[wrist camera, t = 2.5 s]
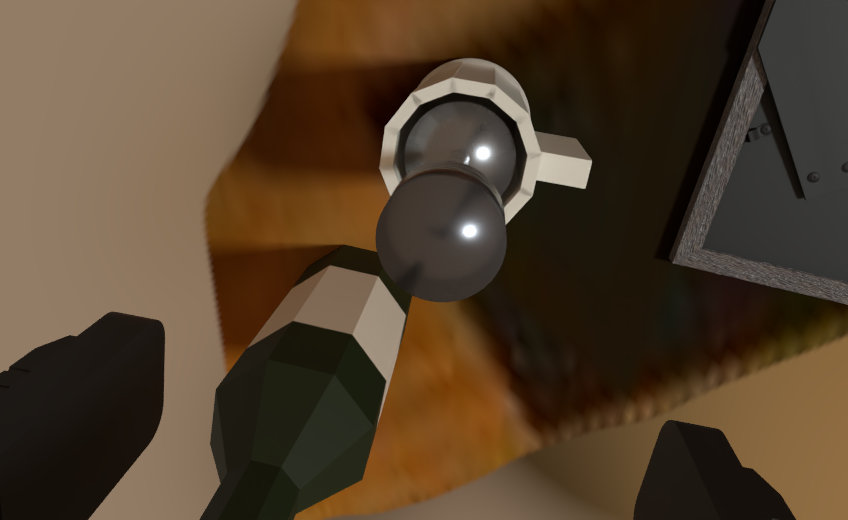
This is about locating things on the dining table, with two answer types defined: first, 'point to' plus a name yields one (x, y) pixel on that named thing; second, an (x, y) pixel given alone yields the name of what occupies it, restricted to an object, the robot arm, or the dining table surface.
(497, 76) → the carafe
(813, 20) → the picture frame
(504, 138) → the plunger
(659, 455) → the robot arm
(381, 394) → the wine bottle
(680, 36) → the dining table surface
